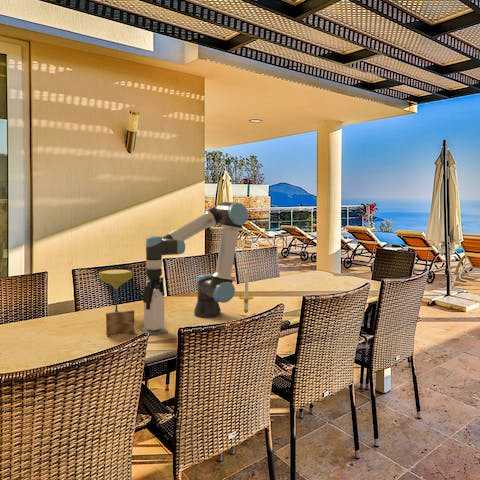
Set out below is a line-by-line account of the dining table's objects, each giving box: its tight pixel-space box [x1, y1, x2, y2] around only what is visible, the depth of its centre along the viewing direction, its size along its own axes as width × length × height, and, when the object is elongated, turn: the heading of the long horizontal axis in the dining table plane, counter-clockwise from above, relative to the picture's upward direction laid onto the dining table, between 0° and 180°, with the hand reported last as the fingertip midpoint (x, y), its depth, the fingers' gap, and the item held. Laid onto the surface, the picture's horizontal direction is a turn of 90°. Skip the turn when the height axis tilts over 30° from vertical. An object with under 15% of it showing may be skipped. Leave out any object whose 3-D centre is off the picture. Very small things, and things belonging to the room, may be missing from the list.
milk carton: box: [143, 289, 165, 330], centre depth 206 cm, size 7×7×19 cm
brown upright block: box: [105, 309, 136, 338], centre depth 201 cm, size 13×5×11 cm, turn 114°
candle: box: [238, 268, 255, 313], centre depth 240 cm, size 10×10×27 cm
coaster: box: [140, 326, 169, 336], centre depth 207 cm, size 11×11×1 cm
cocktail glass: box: [98, 267, 134, 312], centre depth 233 cm, size 18×18×25 cm
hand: (154, 313), depth 206 cm, fingers closed on milk carton, 8 cm apart
